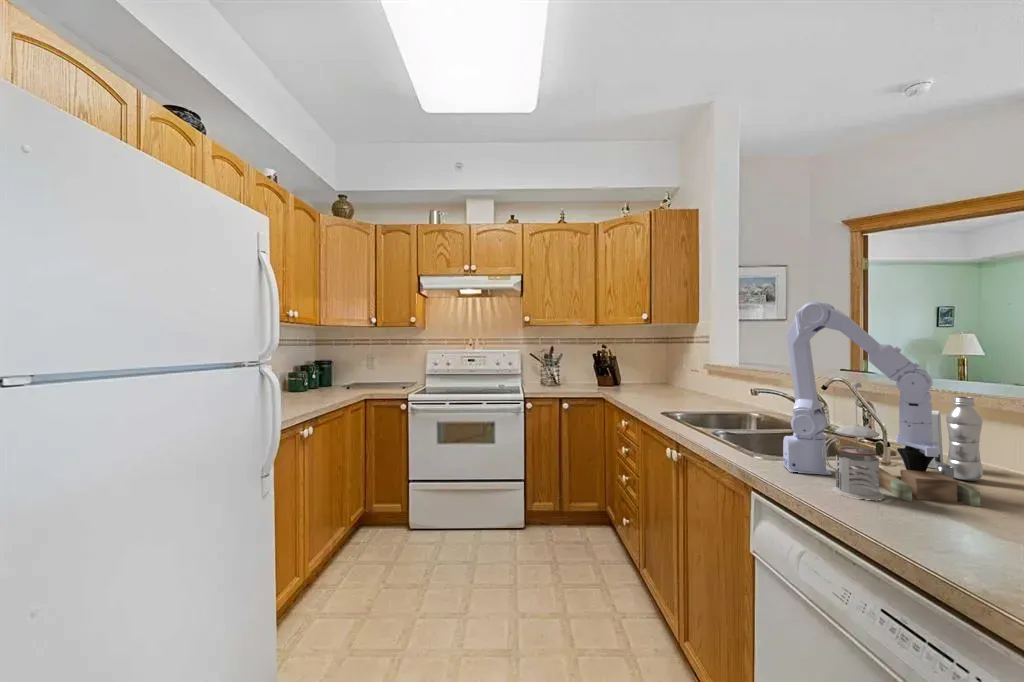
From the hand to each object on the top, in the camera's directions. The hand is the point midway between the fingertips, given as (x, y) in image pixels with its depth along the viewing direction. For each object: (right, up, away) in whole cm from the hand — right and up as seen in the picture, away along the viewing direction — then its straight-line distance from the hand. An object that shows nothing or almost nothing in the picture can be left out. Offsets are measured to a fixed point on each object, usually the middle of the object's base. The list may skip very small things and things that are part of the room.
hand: (915, 480), depth 108 cm
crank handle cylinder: (+10, -2, +4) cm, 11 cm away
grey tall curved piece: (-17, -2, -3) cm, 17 cm away
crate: (-1, -2, -5) cm, 5 cm away
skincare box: (+18, -2, +19) cm, 27 cm away
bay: (-1, -2, -2) cm, 3 cm away
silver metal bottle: (+17, -2, +6) cm, 18 cm away
